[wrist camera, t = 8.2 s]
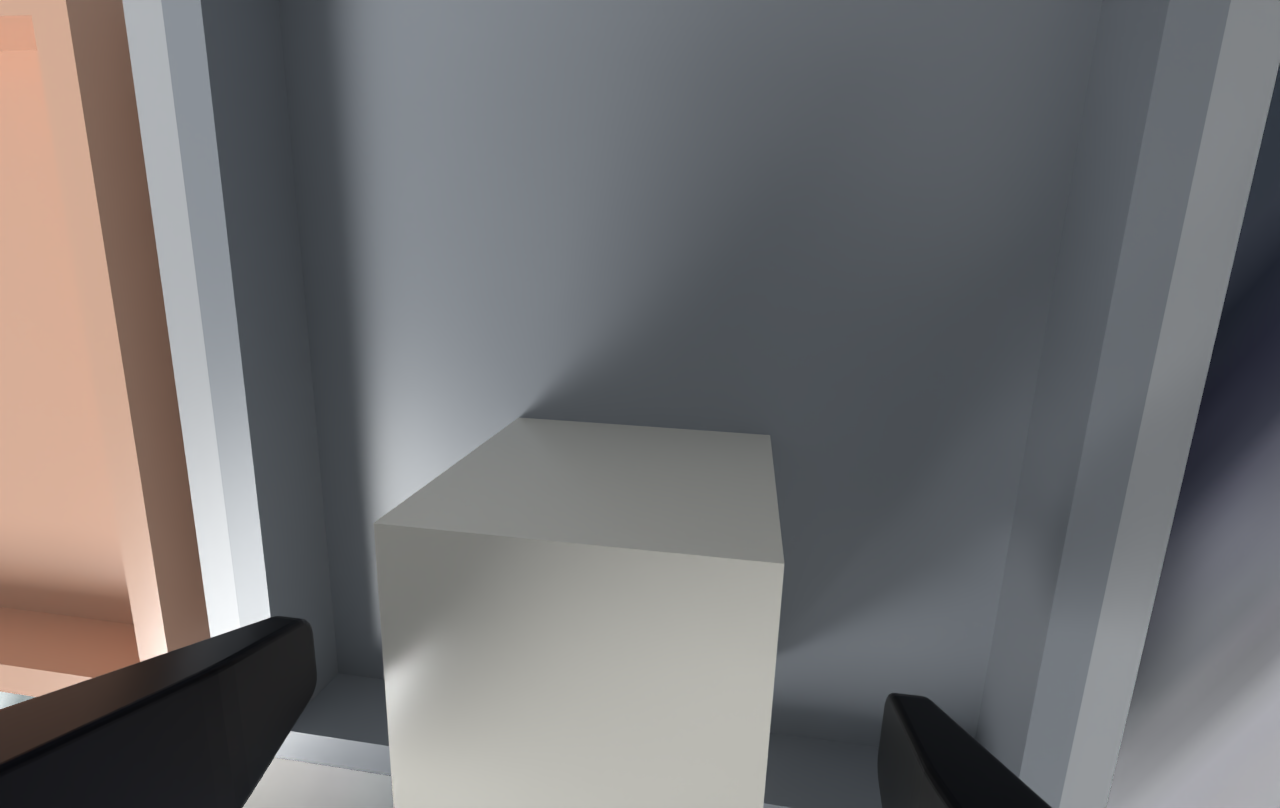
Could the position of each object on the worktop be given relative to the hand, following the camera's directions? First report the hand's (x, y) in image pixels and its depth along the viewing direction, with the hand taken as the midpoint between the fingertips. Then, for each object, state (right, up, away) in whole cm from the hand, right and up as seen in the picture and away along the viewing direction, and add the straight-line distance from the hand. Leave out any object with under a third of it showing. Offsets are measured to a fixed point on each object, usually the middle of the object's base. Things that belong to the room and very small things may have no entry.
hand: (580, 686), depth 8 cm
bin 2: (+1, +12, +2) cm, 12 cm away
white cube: (+1, +1, +4) cm, 4 cm away
